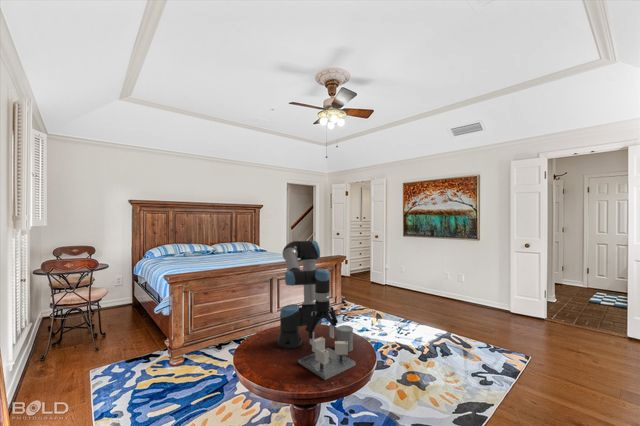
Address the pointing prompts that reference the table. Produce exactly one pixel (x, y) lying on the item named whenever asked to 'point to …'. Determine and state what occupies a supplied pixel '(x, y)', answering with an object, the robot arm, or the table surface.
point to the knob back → (318, 343)
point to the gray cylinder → (345, 335)
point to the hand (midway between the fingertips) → (322, 341)
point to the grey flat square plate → (329, 369)
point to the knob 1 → (322, 356)
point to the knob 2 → (341, 348)
